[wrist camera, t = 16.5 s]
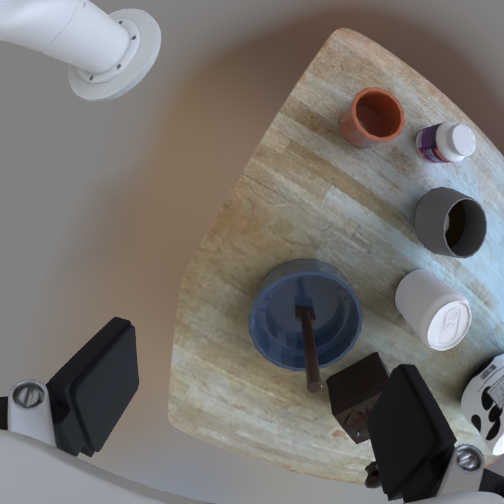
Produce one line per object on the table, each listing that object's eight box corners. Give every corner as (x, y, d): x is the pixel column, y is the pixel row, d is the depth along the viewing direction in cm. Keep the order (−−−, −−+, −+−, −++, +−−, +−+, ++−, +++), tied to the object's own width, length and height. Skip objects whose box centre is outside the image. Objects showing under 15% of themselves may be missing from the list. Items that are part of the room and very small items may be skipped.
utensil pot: (328, 118, 36) (339, 104, 28) (364, 95, 34) (381, 78, 26) (357, 157, 37) (374, 152, 29) (391, 133, 35) (414, 124, 27)
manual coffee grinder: (321, 380, 46) (331, 461, 28) (377, 349, 43) (411, 424, 26) (355, 424, 48) (369, 494, 31) (403, 399, 45) (431, 465, 28)
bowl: (233, 295, 43) (226, 312, 38) (318, 237, 40) (324, 246, 34) (290, 363, 45) (290, 386, 40) (369, 315, 42) (380, 334, 36)
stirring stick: (294, 311, 42) (298, 391, 25) (295, 302, 42) (301, 380, 25) (312, 313, 42) (326, 393, 25) (314, 305, 42) (330, 383, 24)
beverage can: (390, 316, 42) (417, 357, 30) (396, 268, 40) (431, 299, 28) (431, 313, 41) (465, 349, 29) (439, 267, 39) (480, 294, 27)
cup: (409, 254, 39) (440, 274, 29) (399, 193, 37) (431, 198, 27) (457, 239, 37) (493, 254, 28) (449, 181, 35) (487, 184, 26)
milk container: (488, 405, 45) (517, 450, 27) (443, 410, 46) (472, 466, 28) (521, 347, 40) (562, 387, 23) (480, 346, 41) (526, 397, 24)
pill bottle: (412, 157, 35) (445, 153, 26) (416, 123, 34) (449, 111, 25) (441, 167, 35) (477, 167, 26) (445, 135, 34) (480, 127, 24)
